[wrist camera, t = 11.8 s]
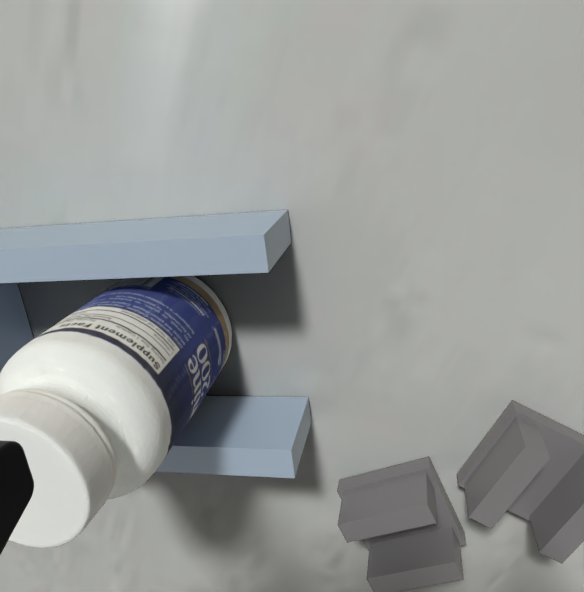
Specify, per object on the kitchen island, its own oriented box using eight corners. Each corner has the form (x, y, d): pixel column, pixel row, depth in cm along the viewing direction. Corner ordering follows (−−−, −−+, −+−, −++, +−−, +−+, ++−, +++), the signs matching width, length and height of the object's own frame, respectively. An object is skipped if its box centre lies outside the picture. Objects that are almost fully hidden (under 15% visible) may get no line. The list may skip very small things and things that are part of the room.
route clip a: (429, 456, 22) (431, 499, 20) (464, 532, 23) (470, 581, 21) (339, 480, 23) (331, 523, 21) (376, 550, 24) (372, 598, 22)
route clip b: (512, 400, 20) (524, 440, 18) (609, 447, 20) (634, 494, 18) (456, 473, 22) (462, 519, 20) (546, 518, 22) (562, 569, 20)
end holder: (287, 209, 20) (263, 234, 16) (311, 422, 23) (294, 478, 19) (-24, 230, 23) (-96, 254, 19) (33, 416, 26) (-20, 463, 22)
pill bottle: (204, 405, 23) (79, 602, 15) (95, 344, 23) (-98, 504, 15) (257, 306, 21) (148, 466, 12) (137, 238, 21) (-61, 351, 12)
